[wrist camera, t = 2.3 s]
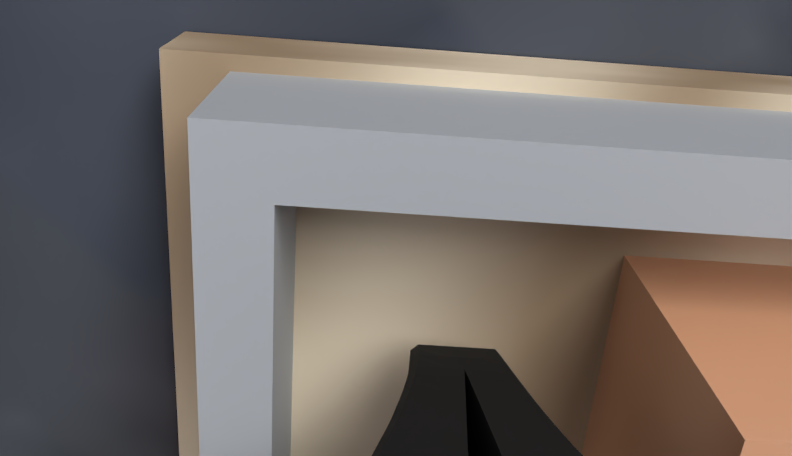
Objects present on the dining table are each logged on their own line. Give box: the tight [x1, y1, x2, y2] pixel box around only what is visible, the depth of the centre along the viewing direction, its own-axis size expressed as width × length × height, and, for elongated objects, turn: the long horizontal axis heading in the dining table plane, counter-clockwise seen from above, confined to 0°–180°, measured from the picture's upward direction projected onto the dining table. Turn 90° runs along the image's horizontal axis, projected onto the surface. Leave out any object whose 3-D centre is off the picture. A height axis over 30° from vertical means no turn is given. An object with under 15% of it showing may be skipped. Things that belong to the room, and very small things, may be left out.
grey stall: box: [187, 71, 792, 456], centre depth 12 cm, size 13×10×2 cm
